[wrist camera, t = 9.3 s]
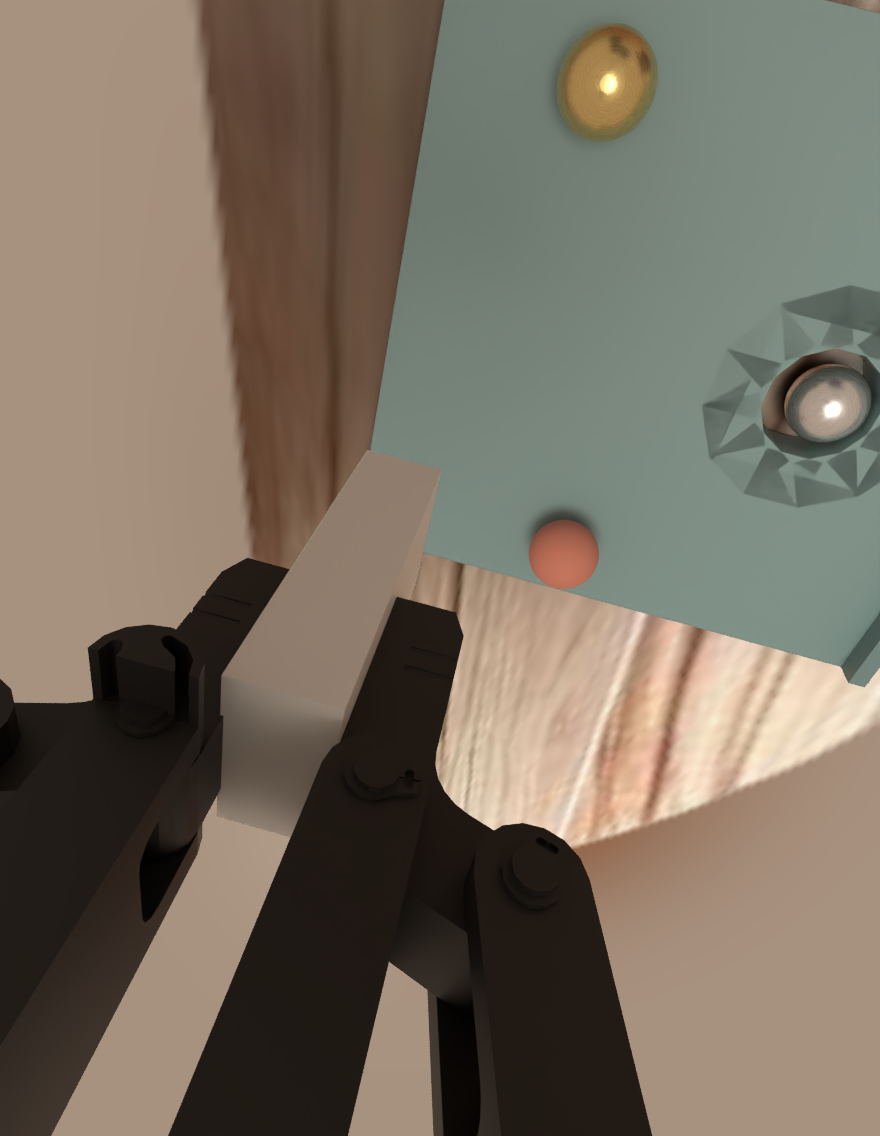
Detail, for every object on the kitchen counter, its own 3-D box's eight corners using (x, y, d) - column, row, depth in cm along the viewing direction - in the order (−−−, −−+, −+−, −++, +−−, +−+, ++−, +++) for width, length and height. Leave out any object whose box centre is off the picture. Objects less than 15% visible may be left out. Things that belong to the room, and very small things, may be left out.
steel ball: (883, 392, 27) (892, 374, 29) (801, 360, 28) (815, 345, 30) (838, 464, 29) (849, 442, 31) (762, 432, 30) (778, 413, 32)
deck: (470, -74, 25) (453, -100, 21) (1213, 110, 24) (1305, 110, 21) (368, 511, 38) (350, 546, 35) (841, 639, 37) (864, 687, 34)
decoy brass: (574, 17, 23) (573, 5, 21) (668, 40, 23) (679, 31, 21) (546, 128, 25) (542, 130, 23) (633, 150, 25) (639, 155, 22)
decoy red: (541, 499, 33) (537, 533, 30) (607, 517, 33) (609, 553, 30) (523, 555, 35) (518, 591, 32) (585, 572, 35) (586, 610, 32)
